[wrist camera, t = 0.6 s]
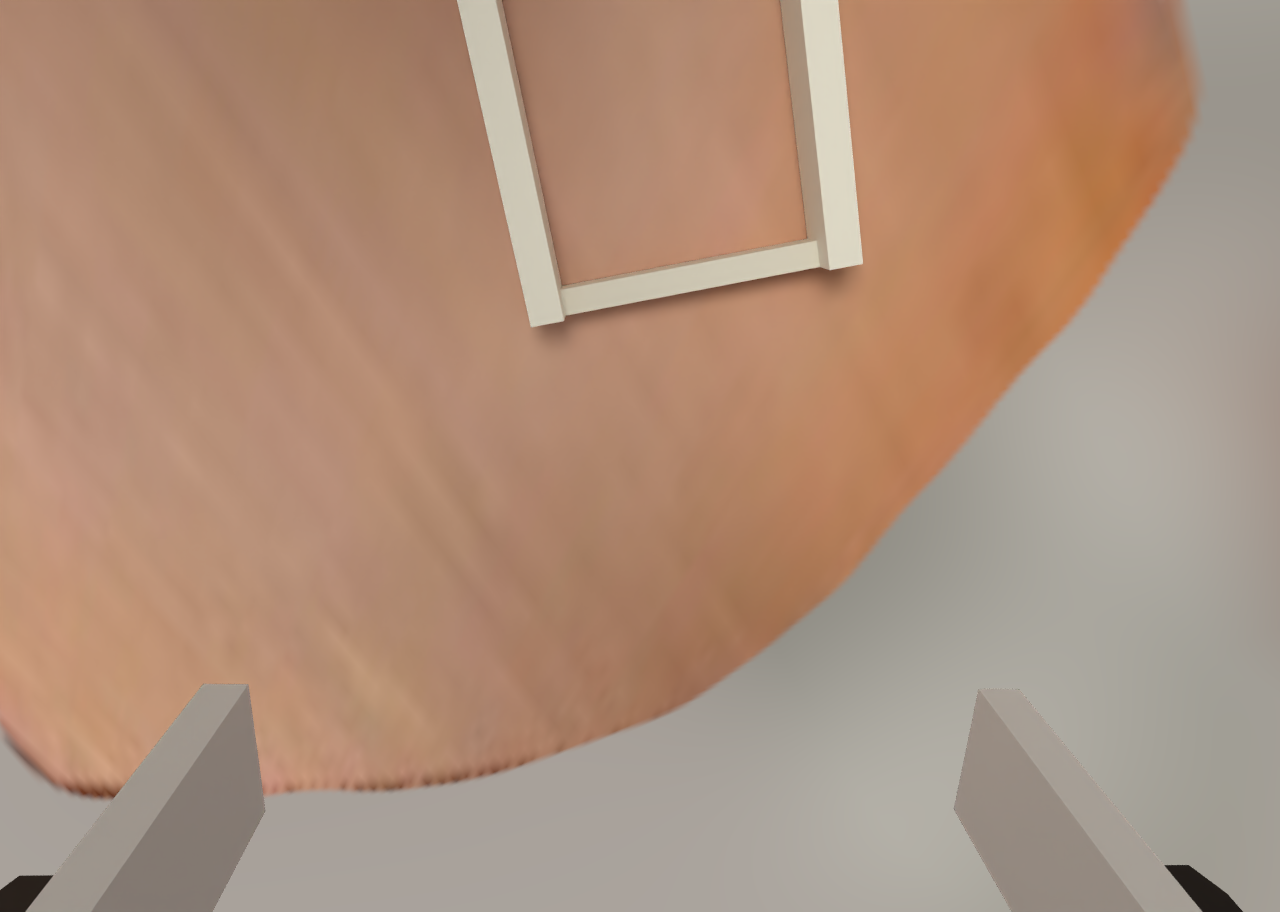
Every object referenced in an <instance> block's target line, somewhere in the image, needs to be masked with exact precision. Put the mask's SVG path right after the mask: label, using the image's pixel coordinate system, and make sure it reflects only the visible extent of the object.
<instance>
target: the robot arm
mask: <svg viewBox="0 0 1280 912" xmlns="http://www.w3.org/2000/svg"><path fill="white" fill-rule="evenodd" d="M954 810H955V812H956V814H957V816H958V817H959V819H960V821H961V823H962V825H963V826H964V828H965V830H966V832H967V833H968V835H969V837H970V839H971V841H972V842H973V844H974V845H975V848H976V849H977V851H978V853H979V855H980V857H981V858H982V860H983V862H984V863H985V865H986V867H987V869H988V871H989V872H990V874H991V876H992V878H993V880H994V881H995V883H996V885H997V887H998V888H999V890H1000V892H1001V894H1002V895H1003V897H1004V899H1005V901H1006V903H1007V904H1008V906H1009V908H1010V910H1011V911H1012V912H1243V911H1242V910H1241V909H1240V908H1239V907H1238V906H1237V905H1236V903H1235V902H1234V901H1233V900H1232V899H1231V898H1230V897H1229V895H1228V894H1227V893H1225V892H1224V891H1223V890H1221V889H1220V888H1219V887H1217V886H1216V885H1215V884H1213V883H1212V882H1211V881H1209V880H1208V879H1207V878H1205V877H1204V876H1202V875H1201V874H1200V873H1198V872H1197V871H1196V870H1195V869H1193V868H1192V867H1190V866H1189V865H1163V863H1162V862H1161V861H1160V860H1159V859H1158V857H1157V856H1156V855H1155V854H1154V852H1153V851H1152V850H1151V849H1150V848H1149V847H1148V845H1147V844H1146V843H1145V842H1144V840H1143V839H1142V838H1141V837H1140V836H1139V834H1138V833H1137V832H1136V831H1135V829H1134V828H1133V827H1132V826H1131V825H1130V823H1129V822H1128V821H1127V820H1126V819H1125V817H1124V816H1123V815H1122V814H1121V813H1120V811H1119V810H1118V809H1117V808H1116V806H1115V805H1114V804H1113V803H1112V802H1111V800H1110V799H1109V798H1108V797H1107V795H1106V794H1105V793H1104V792H1103V791H1102V789H1101V788H1100V787H1099V786H1098V785H1097V783H1096V782H1095V781H1094V780H1093V778H1092V777H1091V776H1090V775H1089V774H1088V773H1087V771H1086V770H1085V769H1084V768H1083V767H1082V765H1081V764H1080V763H1079V762H1078V760H1077V759H1076V758H1075V757H1074V755H1073V754H1072V753H1071V752H1070V751H1069V749H1068V748H1067V747H1066V746H1065V744H1064V743H1063V742H1062V741H1061V740H1060V739H1059V737H1058V736H1057V735H1056V734H1055V732H1054V731H1053V730H1052V729H1051V727H1050V726H1049V725H1048V724H1047V723H1046V722H1045V720H1044V719H1043V718H1042V717H1041V715H1040V714H1039V713H1038V712H1037V711H1036V709H1035V708H1034V707H1033V706H1032V704H1031V703H1030V702H1029V701H1028V700H1027V698H1026V697H1025V696H1024V695H1023V694H1022V692H1021V691H1020V690H1019V689H979V690H978V695H977V700H976V704H975V709H974V714H973V719H972V724H971V729H970V734H969V738H968V743H967V748H966V753H965V758H964V763H963V767H962V772H961V777H960V782H959V787H958V792H957V796H956V801H955V806H954ZM264 813H265V805H264V797H263V790H262V782H261V775H260V767H259V760H258V752H257V745H256V737H255V730H254V722H253V715H252V708H251V700H250V693H249V685H248V684H203V685H202V686H201V688H200V689H199V690H198V691H197V693H196V694H195V695H194V696H193V698H192V699H191V700H190V702H189V703H188V704H187V705H186V707H185V708H184V709H183V711H182V712H181V713H180V714H179V716H178V717H177V718H176V720H175V721H174V722H173V723H172V725H171V726H170V727H169V728H168V730H167V731H166V732H165V734H164V735H163V736H162V737H161V739H160V740H159V741H158V743H157V744H156V745H155V746H154V748H153V749H152V750H151V752H150V753H149V754H148V755H147V757H146V758H145V759H144V760H143V762H142V763H141V764H140V766H139V767H138V768H137V769H136V771H135V772H134V773H133V775H132V776H131V777H130V778H129V780H128V781H127V782H126V784H125V785H124V786H123V787H122V789H121V790H120V791H119V792H118V794H117V795H116V796H115V798H114V799H113V800H112V801H111V803H110V804H109V805H108V807H107V808H106V809H105V811H104V812H103V813H102V814H101V816H100V817H99V818H98V819H97V821H96V822H95V823H94V825H93V826H92V827H91V828H90V830H89V831H88V832H87V833H86V835H85V836H84V838H83V839H82V840H81V841H80V842H79V844H78V845H77V846H76V848H75V849H74V850H73V851H72V853H71V854H70V855H69V857H68V858H67V859H66V860H65V862H64V863H63V864H62V866H61V867H60V868H59V869H58V871H57V872H56V873H55V875H52V876H19V877H17V878H16V879H14V880H13V881H12V882H10V883H9V884H8V885H6V886H5V887H4V888H2V889H1V890H0V912H213V910H214V908H215V906H216V904H217V902H218V900H219V898H220V896H221V894H222V893H223V891H224V888H225V887H226V885H227V883H228V881H229V879H230V877H231V875H232V874H233V872H234V870H235V868H236V866H237V864H238V862H239V860H240V858H241V856H242V854H243V852H244V851H245V849H246V847H247V845H248V843H249V841H250V839H251V837H252V836H253V833H254V832H255V830H256V828H257V826H258V824H259V822H260V820H261V818H262V817H263V815H264Z"/></svg>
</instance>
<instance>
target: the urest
mask: <svg viewBox="0 0 1280 912" xmlns="http://www.w3.org/2000/svg"><path fill="white" fill-rule="evenodd" d="M457 3H458V7H459V11H460V16H461V20H462V25H463V29H464V34H465V38H466V42H467V47H468V51H469V56H470V60H471V64H472V69H473V73H474V78H475V82H476V87H477V91H478V95H479V100H480V104H481V109H482V113H483V118H484V122H485V126H486V131H487V135H488V140H489V144H490V148H491V153H492V157H493V162H494V166H495V171H496V175H497V179H498V184H499V188H500V193H501V197H502V202H503V206H504V210H505V215H506V219H507V224H508V228H509V232H510V237H511V241H512V246H513V250H514V255H515V259H516V263H517V268H518V272H519V277H520V281H521V286H522V290H523V294H524V299H525V303H526V308H527V312H528V316H529V321H530V325H531V327H536V326H541V325H546V324H551V323H557V322H562V321H564V319H565V316H567V315H572V314H577V313H582V312H587V311H593V310H598V309H603V308H608V307H613V306H619V305H624V304H629V303H634V302H640V301H645V300H650V299H655V298H660V297H666V296H671V295H676V294H681V293H687V292H692V291H697V290H702V289H707V288H713V287H718V286H723V285H728V284H734V283H739V282H744V281H749V280H754V279H760V278H765V277H770V276H775V275H780V274H786V273H791V272H796V271H801V270H807V269H812V268H817V267H821V268H824V269H828V270H833V269H838V268H844V267H849V266H854V265H859V264H863V259H862V248H861V237H860V227H859V216H858V206H857V195H856V185H855V174H854V164H853V153H852V143H851V132H850V122H849V111H848V100H847V90H846V79H845V69H844V58H843V48H842V37H841V27H840V16H839V6H838V0H780V4H781V13H782V22H783V31H784V39H785V48H786V57H787V65H788V74H789V83H790V92H791V100H792V109H793V118H794V126H795V135H796V144H797V152H798V161H799V170H800V179H801V187H802V196H803V205H804V213H805V222H806V231H807V239H803V240H798V241H793V242H787V243H782V244H777V245H772V246H767V247H761V248H756V249H751V250H746V251H741V252H735V253H730V254H725V255H720V256H714V257H709V258H704V259H699V260H694V261H688V262H683V263H678V264H673V265H668V266H662V267H657V268H652V269H647V270H642V271H636V272H631V273H626V274H621V275H616V276H610V277H605V278H600V279H595V280H590V281H584V282H579V283H574V284H569V285H564V286H562V283H561V279H560V274H559V269H558V264H557V260H556V255H555V250H554V245H553V241H552V236H551V231H550V227H549V222H548V217H547V212H546V208H545V203H544V198H543V193H542V189H541V184H540V179H539V174H538V170H537V165H536V160H535V155H534V151H533V146H532V141H531V136H530V132H529V127H528V122H527V117H526V113H525V108H524V103H523V98H522V94H521V89H520V84H519V79H518V75H517V70H516V65H515V60H514V56H513V51H512V46H511V41H510V37H509V32H508V27H507V22H506V18H505V13H504V8H503V3H502V0H457Z"/></svg>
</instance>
